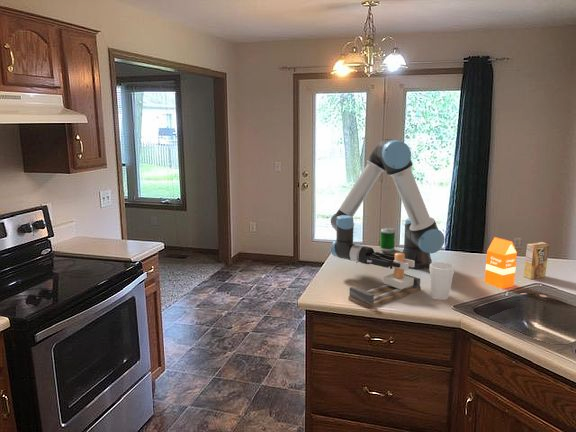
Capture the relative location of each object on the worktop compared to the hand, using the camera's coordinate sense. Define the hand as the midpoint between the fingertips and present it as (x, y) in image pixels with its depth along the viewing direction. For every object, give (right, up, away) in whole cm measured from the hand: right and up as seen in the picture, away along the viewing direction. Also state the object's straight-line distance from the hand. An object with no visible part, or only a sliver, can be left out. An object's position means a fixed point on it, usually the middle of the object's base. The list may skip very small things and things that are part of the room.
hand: (411, 265), depth 186 cm
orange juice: (+41, -9, +12) cm, 44 cm away
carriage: (-4, -8, +5) cm, 11 cm away
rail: (-10, -12, +1) cm, 16 cm away
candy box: (+61, -7, +20) cm, 65 cm away
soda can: (+4, +1, +65) cm, 65 cm away
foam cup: (+11, -13, -1) cm, 17 cm away
